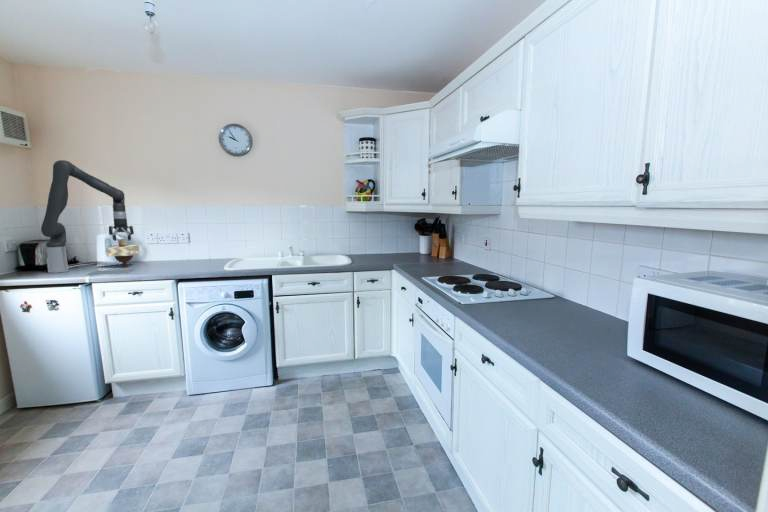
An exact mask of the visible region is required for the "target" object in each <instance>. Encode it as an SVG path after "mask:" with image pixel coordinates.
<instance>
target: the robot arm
mask: <svg viewBox="0 0 768 512" xmlns="http://www.w3.org/2000/svg"><path fill="white" fill-rule="evenodd" d="M70 177H73V178H75V179H77V180H79V181H81V182H83V183H84V184H87V185H88V186H89V187H91V188H92V189H94V190H97V191H99V192H101V193H103V194H105V195H107V196H108V197H111V198H112V203H113V204H112V216H113V225H109V227H108V234H109V235H111V236H112V240H113V241H114V242H116V241H117V234H118V233H125V234H126V235H127V241H131V240H132V235H134V231H135V230H134V226H133V225H128V219H127V218H128V217H127V211H126V205H125V199H126V198H125V197H126V196H125V192H124V191H123V190H120V188H117V187H115V186H113V185H110V184H109V183H107V182H105V181H103V180H101V179H100V178H98V177H95V176H93V175H91V174H89V173H87V172H85V171H83V169H81V168H79V167H77V166H76V165H75V164H73V163H72V162H71V161H68V160H65V159H64V160H56V161H55V162H54V163H53V165H52V181H51V184H50V189H49V193H48V198H47V205H46V208H45V209H46V210H45V214H44V218H43V221H42V223H41V227H40V228H41V229H40V232H41V234H42V235H43V236H44V237H47V238H49V240H48V241H47V242H46V243H45V245H46V252H47V258H46V266H47V271H48V273H49V274H50V273H51V274H55V273H66V272H68V271H69V264H68V256H67V250H66V242H67V233H66V228H65V226H64V225H63V223H61V222H58V221H59V217H60V216H61V214H62V213H63V211H64V210H65V209H66V207H67V205H68V199H69V190H68V189H69V187H68V183H69V182H68V181H69V178H70ZM128 229H129V230H128ZM113 230H114V231H113Z"/></svg>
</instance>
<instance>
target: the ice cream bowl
mask: <svg viewBox="0 0 768 512" xmlns="http://www.w3.org/2000/svg"><path fill="white" fill-rule="evenodd" d="M133 257H134V255H132V256H114V258H115V259H116V261H118V262H120V263H122V266H121V267H120V269H126V268H127V269H129V268H130V266H129V265H127V263H128V262H130V261H131V260H132V259H133Z"/></svg>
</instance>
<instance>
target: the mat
mask: <svg viewBox="0 0 768 512" xmlns="http://www.w3.org/2000/svg"><path fill="white" fill-rule="evenodd" d="M136 270H137V269H133V268H132V269H114V270H113V269H112V270H110V269H108V270H95V271H92V272H89V273H87V274H85V276H98V275H124V274H125V275H126V274H130V273H132V272H134V271H136Z"/></svg>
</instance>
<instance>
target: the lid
mask: <svg viewBox="0 0 768 512" xmlns="http://www.w3.org/2000/svg"><path fill="white" fill-rule="evenodd" d="M105 253H106V257H115V256H132V255H133V256H134V255H137V254H138V253H140V247H139V244H127V242H126V239H124V238H121V239H118V244H117V245H116V244H115V245H113V246H111V245H110V246H108V247H106V248H105Z"/></svg>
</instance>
